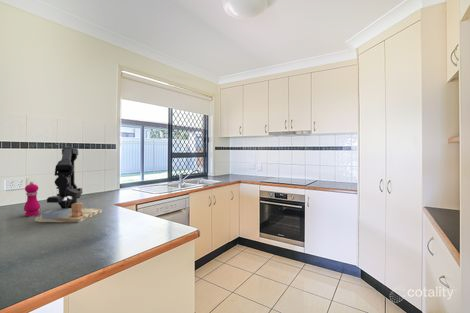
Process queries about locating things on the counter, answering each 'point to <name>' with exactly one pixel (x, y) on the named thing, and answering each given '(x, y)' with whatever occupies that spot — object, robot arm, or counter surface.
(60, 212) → the block
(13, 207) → the counter surface
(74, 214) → the pin
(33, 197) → the pepper mill
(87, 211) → the pin board
